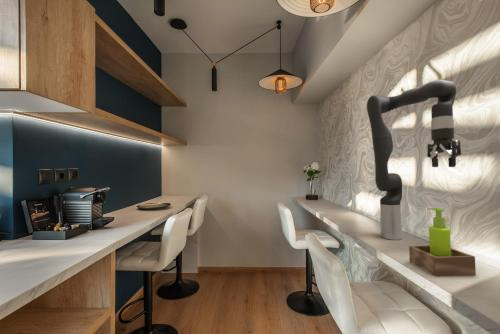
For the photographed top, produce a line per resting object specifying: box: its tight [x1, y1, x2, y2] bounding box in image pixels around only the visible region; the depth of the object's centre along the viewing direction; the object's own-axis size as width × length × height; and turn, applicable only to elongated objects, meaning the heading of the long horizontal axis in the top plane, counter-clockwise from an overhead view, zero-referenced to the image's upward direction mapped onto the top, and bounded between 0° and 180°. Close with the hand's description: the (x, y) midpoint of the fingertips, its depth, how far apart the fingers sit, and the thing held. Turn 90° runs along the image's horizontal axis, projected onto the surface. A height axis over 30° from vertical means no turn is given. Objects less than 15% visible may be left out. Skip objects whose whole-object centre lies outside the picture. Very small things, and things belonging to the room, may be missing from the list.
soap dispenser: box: [427, 207, 452, 257], centre depth 87 cm, size 6×7×20 cm
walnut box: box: [408, 244, 477, 277], centre depth 86 cm, size 13×13×6 cm
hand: (443, 167), depth 101 cm, fingers open, 8 cm apart
